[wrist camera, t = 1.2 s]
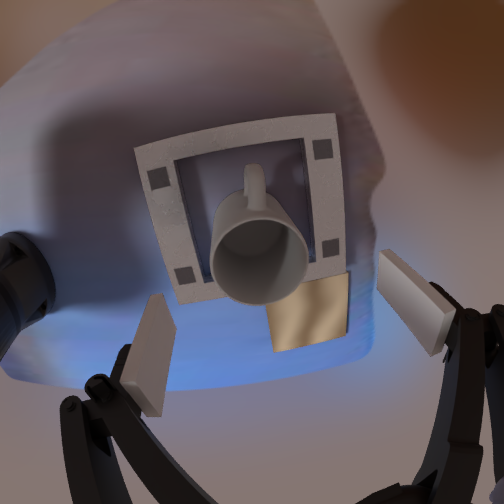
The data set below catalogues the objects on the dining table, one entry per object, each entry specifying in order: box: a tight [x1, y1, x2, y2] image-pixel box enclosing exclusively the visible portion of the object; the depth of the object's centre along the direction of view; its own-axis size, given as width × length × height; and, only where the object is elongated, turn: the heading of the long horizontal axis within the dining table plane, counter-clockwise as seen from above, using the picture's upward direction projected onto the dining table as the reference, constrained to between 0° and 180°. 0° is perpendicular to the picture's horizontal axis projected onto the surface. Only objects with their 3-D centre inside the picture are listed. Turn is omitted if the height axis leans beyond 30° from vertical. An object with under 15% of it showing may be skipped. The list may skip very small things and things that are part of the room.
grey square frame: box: [134, 113, 346, 305], centre depth 31 cm, size 22×20×2 cm
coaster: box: [266, 271, 348, 353], centre depth 39 cm, size 12×12×1 cm
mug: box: [210, 163, 309, 306], centre depth 27 cm, size 12×8×11 cm
